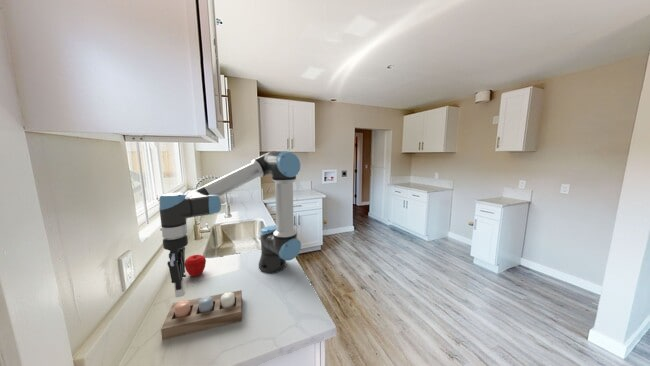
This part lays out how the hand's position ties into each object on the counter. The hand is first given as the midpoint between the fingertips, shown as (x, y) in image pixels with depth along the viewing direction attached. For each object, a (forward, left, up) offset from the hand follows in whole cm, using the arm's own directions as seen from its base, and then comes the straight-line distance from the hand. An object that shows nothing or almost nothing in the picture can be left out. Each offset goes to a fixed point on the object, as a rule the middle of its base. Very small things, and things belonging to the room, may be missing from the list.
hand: (180, 295), depth 84 cm
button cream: (0, +16, -9) cm, 19 cm away
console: (0, +8, -11) cm, 14 cm away
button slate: (0, +8, -9) cm, 12 cm away
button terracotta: (0, 0, -9) cm, 9 cm away
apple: (-35, -2, -11) cm, 37 cm away
